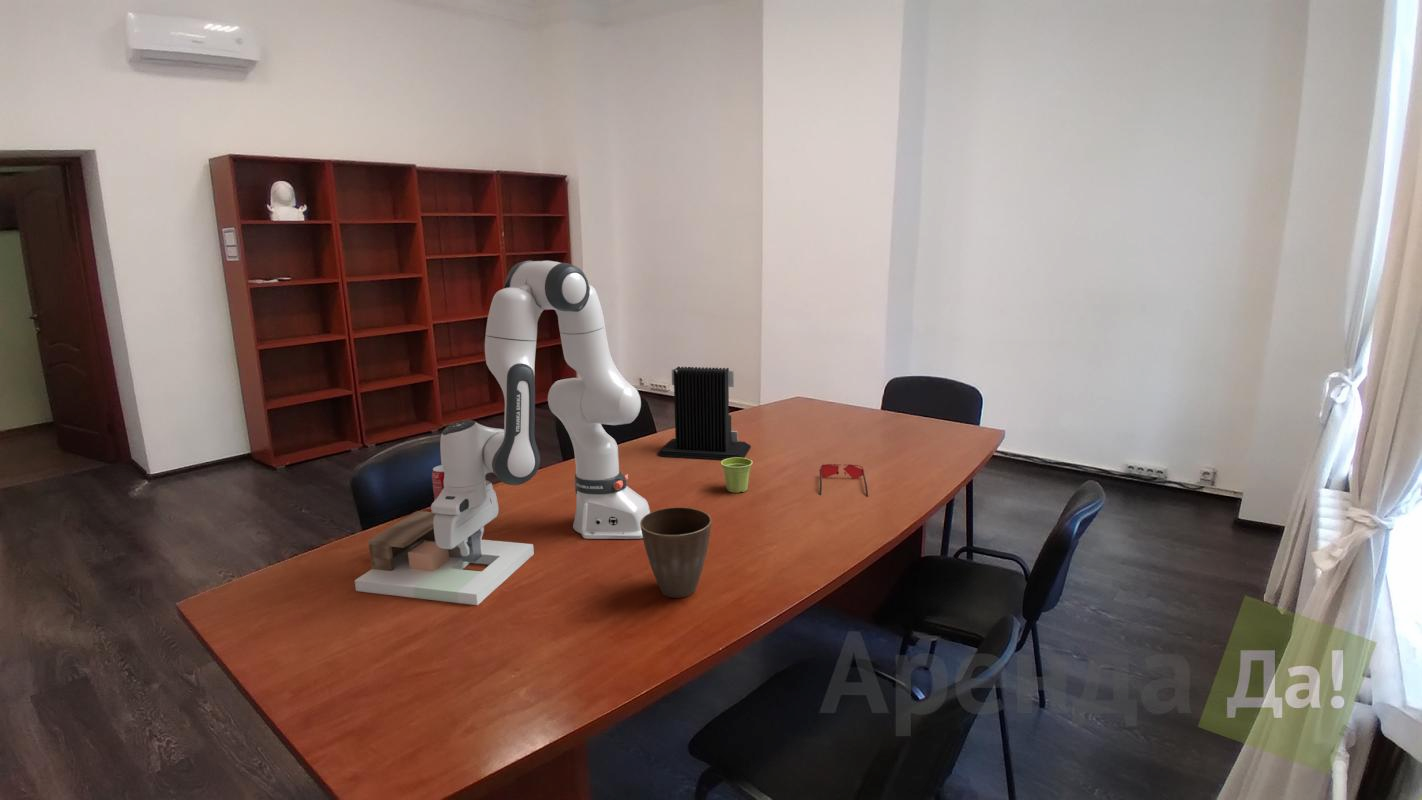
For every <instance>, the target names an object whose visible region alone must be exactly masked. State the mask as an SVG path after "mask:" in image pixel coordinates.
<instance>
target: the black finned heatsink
mask: <svg viewBox="0 0 1422 800" xmlns="http://www.w3.org/2000/svg"><path fill="white" fill-rule="evenodd" d="M734 374H735V373H734V370H730V369H729V367H727V368H725V367H723V368H722V367H720V368H719V367H703V366H702V367H701V366H700V367H697V366H695V367H694V366H688V367H687V366H681V367H680V366H677V367H676V368H671V386H673V394H674V395H673V397H674V398H673V399H674V434H675V438H672V439H670V440H669V441H668V442H667V443H666V444H665V445H664V446H663V447H661V449H659V450H658V451H657V456H658V457H662V458H674V459H675V458H676V459H677V458H678V459H691V460H692V459H695V460H710V461H711V460H712V461H713V460H714V461H722V460H724V459H728V458H735V457H738V458H739V457H740V458H746V456H747V455H748V453H749V451H751V448H752V446H751V444H748V443H747V442H746V441H741V440H740V441H739V437H738V430H732V416H731V414H730V413H729V403H730V400H729V398H730V396H729V388H734V387H735V382H734V381H735V379H734V377H735V375H734Z"/></svg>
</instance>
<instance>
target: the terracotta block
mask: <svg viewBox="0 0 1422 800" xmlns="http://www.w3.org/2000/svg"><path fill="white" fill-rule="evenodd" d="M408 557H409V566H410V569H417V570H426V571H434V570H436V569H437V568H439V567H440V566H441V565H443V564H444V563H445V562H447V561H448V560H449V552H448V549H443V548H439V547H438V546H437V545H436V542H428V541H424V542H423V543H421V544H420V545H418V546H417V547H415V548H413V549H412V550H410V551H409V552H408Z"/></svg>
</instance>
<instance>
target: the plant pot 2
mask: <svg viewBox="0 0 1422 800" xmlns="http://www.w3.org/2000/svg"><path fill="white" fill-rule="evenodd" d="M720 464H721V465H722V469H723V472H724V473H723V474H724V478H725V479H724V480H725V485H726V490H727V491H728V492H729V493H733V494H739V493H741V492H743V493H745V492H746V491H747V490H748V488H749V487H748V486H749V479H750V471H751V468H752V465H753V460H751V459H749V458H747V457H745V458H740V457H739V458H738V457H735V458H728V459H724V460H720Z"/></svg>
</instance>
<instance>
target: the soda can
mask: <svg viewBox="0 0 1422 800" xmlns="http://www.w3.org/2000/svg"><path fill="white" fill-rule="evenodd" d="M444 476H445V474H444V469H443V467H442V464H440V465H437V466H435V467H433V468H432V473H431V483H432V490H433V495H434V496H433V499H434V501H435V500H436V499H437V497H438V496H439V495H440V493H441V491H442V490H443V489H444Z"/></svg>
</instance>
